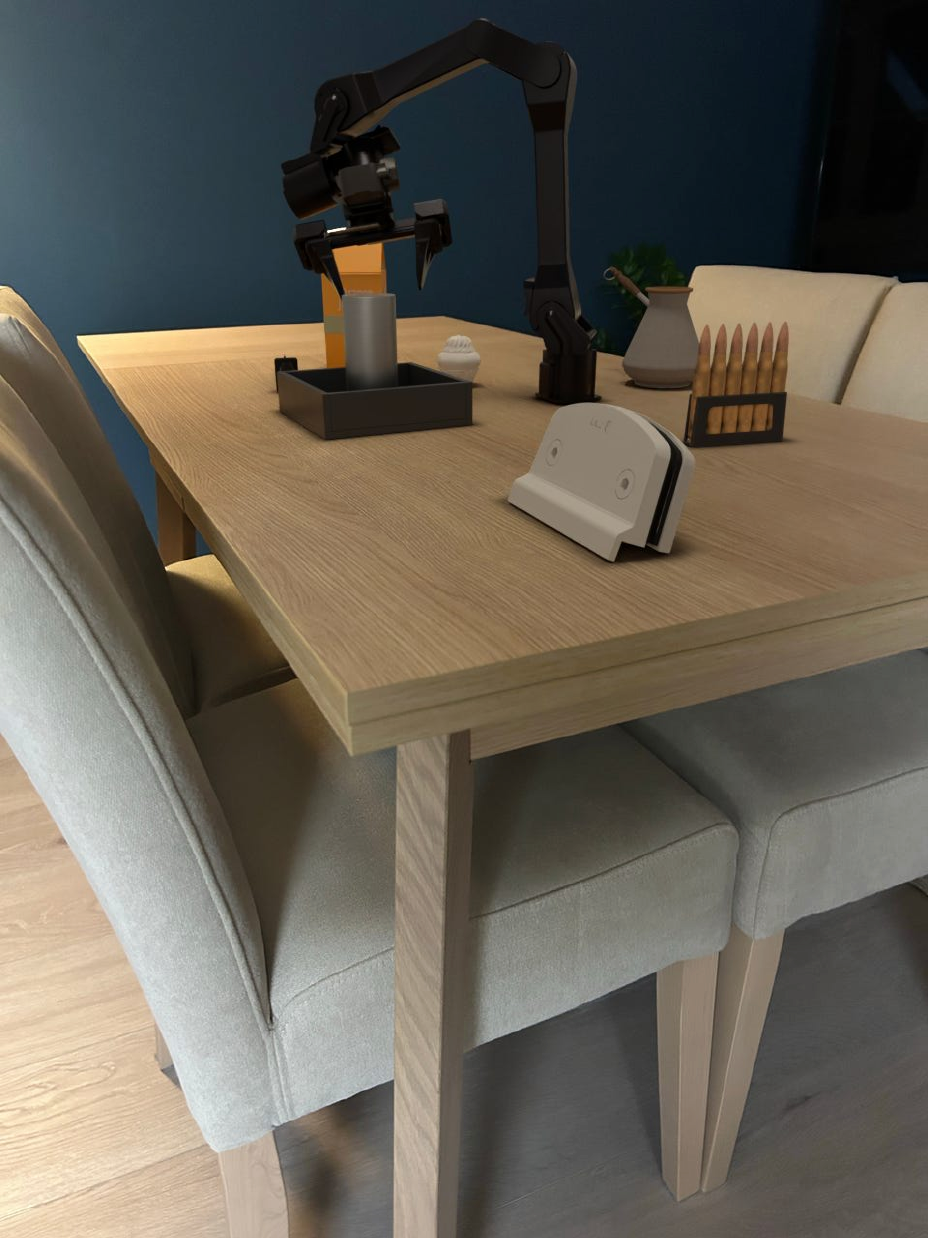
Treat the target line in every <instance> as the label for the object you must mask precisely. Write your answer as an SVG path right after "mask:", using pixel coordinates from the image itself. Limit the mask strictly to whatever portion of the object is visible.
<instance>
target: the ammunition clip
mask: <svg viewBox="0 0 928 1238" xmlns="http://www.w3.org/2000/svg"><path fill="white" fill-rule="evenodd" d="M710 329H711V328H710V326H709V324H705V325H704V327H703V329H702V332H701V334H700V339H699V350H698V356H697V362H696V366H695V370H694V379H693V381H692V391H691V393H690V394H689V398H688V405H687V411H686V412H687V413H686V419H685V427H684V435H683V442H682V443H683V444H684V445H687V446H689V447H691V448H700V447H714V446H727V445H728V446H729V445H743V444H756V443H757V444H758V443H770V442H782V441H783V439H784V430H785V421H786V409H787V398H788V397H787V396H788V395H787V394H788V392H787V391H786V384H787V376H788V370H789V369H788V368H789V365H788V364H789V363H788V362H789V361H788V357H789V356H788V355H789V342H790V341H789V339H790V336H789V335H790V333H789V326H788V323H787V321H784V322H783V323H782V325H781V327H780V329H779V333H778V335H777V339H776V345H775V351H774V337H775V336H774V329H773V324H772V322H768V323H767V325H766V327H765V330H764V332H763V334H762V335H763V336H762V340H761V345H760V351H759V330H758V325H757V323H756V322H753V323H752V325H751V327H750V329H749V332H748V335H747V338H746V342H745V351H744V356H743V346H744V338H743V337H744V336H743V329H742V324H741V323H737V325H736V326H735V329H734V331H733V334H732V338H731V342H730V349H729V354H728V361H727V351H728V350H727V347H728V336H727V335H728V334H727V328H726V326H725V323H722V324H721V325H720V326H719V329H718V332H717V335H716V337H715V343H714V344H715V345H714V351H713V355H712V362H711V351H712V350H711V348H712V339H711V330H710ZM758 351H759V354H758ZM758 355H759V357H758ZM773 355H774V356H773Z"/></svg>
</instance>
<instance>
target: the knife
mask: <svg viewBox="0 0 928 1238" xmlns="http://www.w3.org/2000/svg"><path fill="white" fill-rule="evenodd" d="M283 355H284V356H283V357H275V358H274V359H273V360H274V361H273V362H274V364H273V365H274V376H275V377H274V378H275V387H276V388H275V389H276V392H278V381H277V372H278V371H293V370H299V364H298V358H297V357H296V356H295V357H294V356H293V357H287V356H286V354H283Z"/></svg>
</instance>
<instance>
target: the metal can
mask: <svg viewBox="0 0 928 1238" xmlns="http://www.w3.org/2000/svg"><path fill="white" fill-rule="evenodd" d="M396 301H397V299H396V294H395V293H354V294H345V295H342V306H343V325H344V345H345V364H346V384H347V391H356V390H368V389H380V388H392V387H398V363H399V362H398V335H397V302H396Z"/></svg>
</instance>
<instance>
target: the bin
mask: <svg viewBox="0 0 928 1238" xmlns="http://www.w3.org/2000/svg"><path fill="white" fill-rule="evenodd" d="M397 363H398V387H392V388H380V389H368V390H356V391H347V384H346V367H335V368H327V367H323V368H307V369H298V370H293V371H278V372H277V381H278V391H277V393H278V404H279V413H280V412H281V413H282V414H283V415H285V416H287V417H288V418H290V419H291V420H293V421H294V422H296V423H297V424H299V425H301V426H303V427H304V428H306V429H307V430H309V431H310V432H312V433H313V434H315V435H317V436H318V437H320V438H322V439H323V440H325V441H327V440H328V441H329V440H338V439H348V438H357V437H366V436H376V435H385V434H395V433H396V434H397V433H405V432H414V431H415V432H416V431H424V430H434V429H444V428H454V427H463V426H472V425H473V387H474V386H473V384H474V383H473V381H472V382H470V381H467V380H464V379H461V378H458V377H455V376H452V375H449V374H446V373H443V372H440V370H437V369H434V368H432V367H431V368H430V367H429V366H428V367H427V366H425V365H422V364H418V363H416V362H413V361H407V362H397Z"/></svg>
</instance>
